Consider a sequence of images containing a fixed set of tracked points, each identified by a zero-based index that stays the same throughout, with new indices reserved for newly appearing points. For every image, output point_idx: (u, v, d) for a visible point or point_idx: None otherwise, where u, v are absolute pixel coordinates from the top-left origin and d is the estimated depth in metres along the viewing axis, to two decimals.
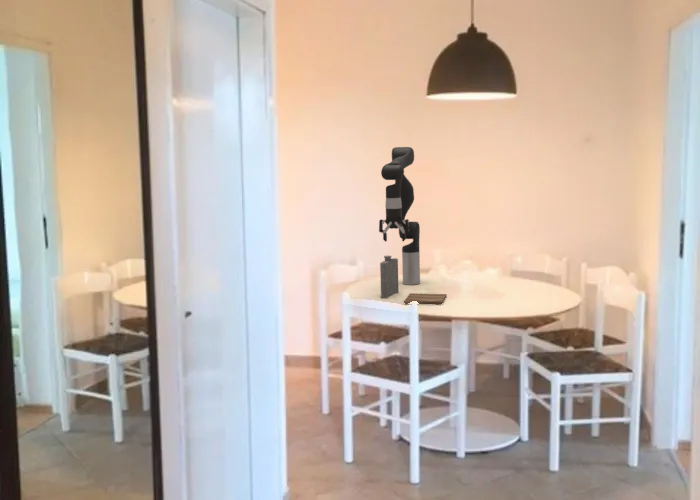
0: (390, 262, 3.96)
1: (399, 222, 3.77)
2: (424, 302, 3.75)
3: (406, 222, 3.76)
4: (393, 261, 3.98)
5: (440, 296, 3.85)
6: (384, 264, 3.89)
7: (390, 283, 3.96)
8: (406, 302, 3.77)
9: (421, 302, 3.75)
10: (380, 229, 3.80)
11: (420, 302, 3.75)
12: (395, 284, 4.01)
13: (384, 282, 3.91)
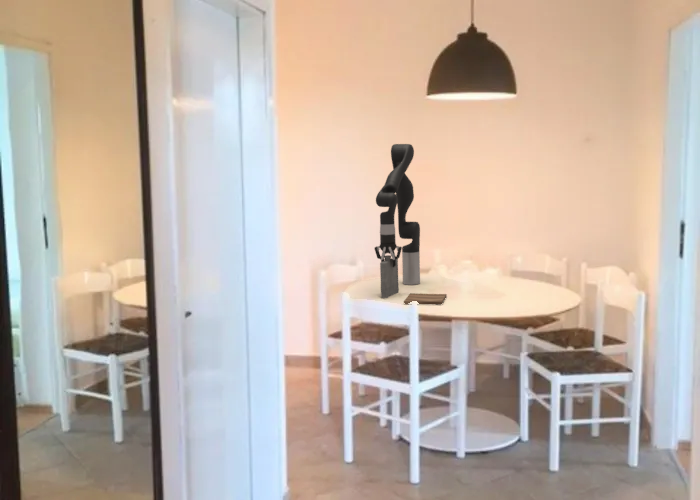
0: (390, 262, 3.96)
1: (393, 248, 3.94)
2: (424, 302, 3.75)
3: (399, 249, 3.93)
4: None
5: (440, 296, 3.85)
6: (384, 264, 3.89)
7: (390, 283, 3.96)
8: (406, 302, 3.77)
9: (421, 302, 3.75)
10: (378, 255, 3.96)
11: (420, 302, 3.75)
12: (395, 284, 4.01)
13: (384, 281, 3.91)
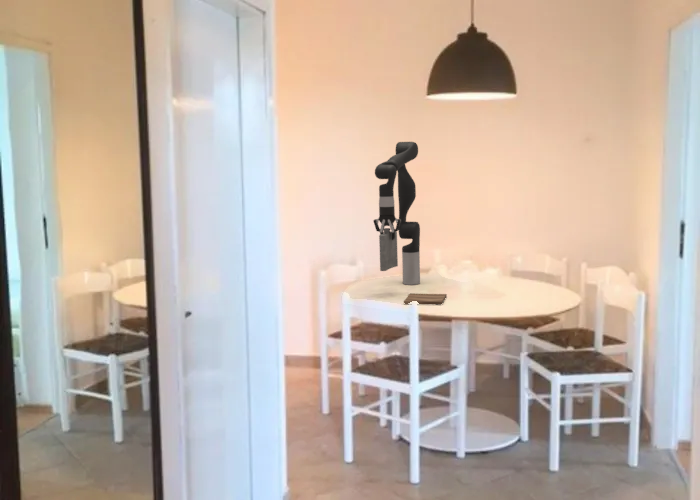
0: (389, 235, 3.94)
1: (392, 221, 3.92)
2: (424, 302, 3.75)
3: (398, 222, 3.91)
4: None
5: (440, 296, 3.85)
6: (383, 236, 3.87)
7: (389, 256, 3.94)
8: (406, 302, 3.77)
9: (421, 302, 3.75)
10: (377, 228, 3.94)
11: (420, 302, 3.75)
12: (394, 257, 3.99)
13: (383, 254, 3.89)
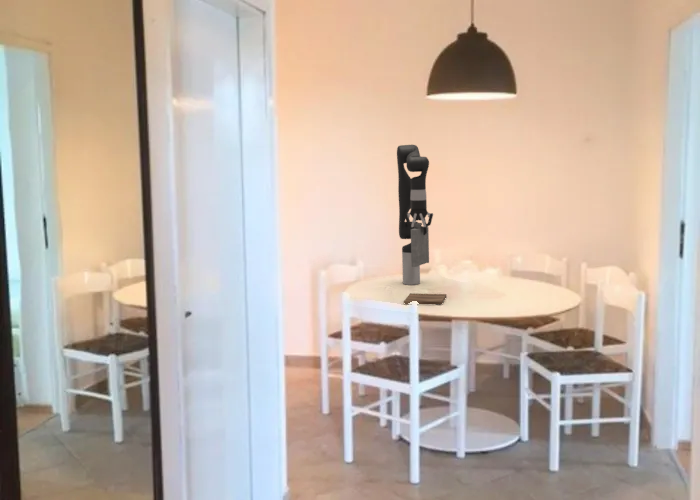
0: (421, 229, 3.79)
1: (424, 215, 3.77)
2: (424, 302, 3.75)
3: (430, 216, 3.77)
4: None
5: (440, 296, 3.85)
6: (415, 231, 3.73)
7: (420, 251, 3.80)
8: (406, 302, 3.77)
9: (421, 302, 3.75)
10: (408, 223, 3.80)
11: (420, 302, 3.75)
12: (425, 253, 3.85)
13: (415, 249, 3.74)
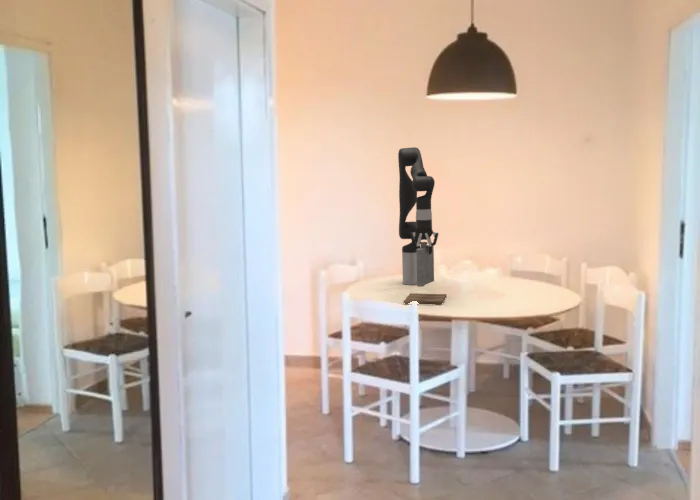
0: (426, 249, 3.79)
1: (429, 234, 3.77)
2: (424, 302, 3.75)
3: (436, 235, 3.77)
4: None
5: (440, 296, 3.85)
6: (421, 251, 3.73)
7: (426, 270, 3.80)
8: (406, 302, 3.77)
9: (421, 302, 3.75)
10: (414, 242, 3.80)
11: (420, 302, 3.75)
12: (431, 272, 3.85)
13: (420, 269, 3.74)
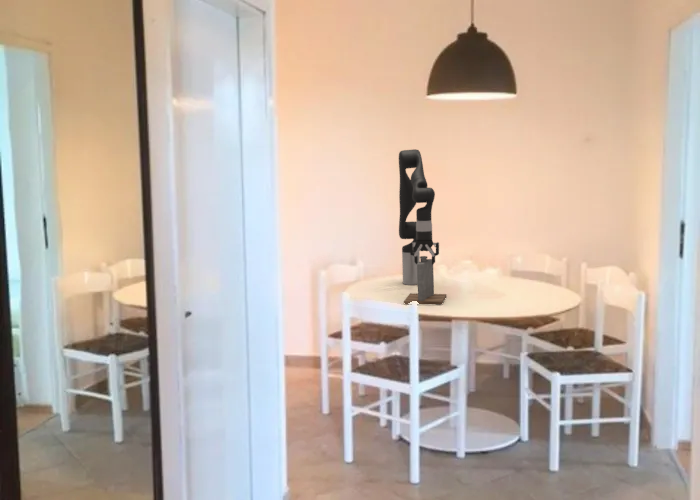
0: (426, 263, 3.80)
1: (430, 245, 3.78)
2: (424, 302, 3.75)
3: (437, 245, 3.77)
4: (429, 262, 3.83)
5: (440, 296, 3.85)
6: (421, 265, 3.74)
7: (426, 284, 3.81)
8: (406, 302, 3.77)
9: (421, 302, 3.75)
10: (411, 252, 3.81)
11: (420, 302, 3.75)
12: (431, 286, 3.86)
13: (421, 283, 3.75)
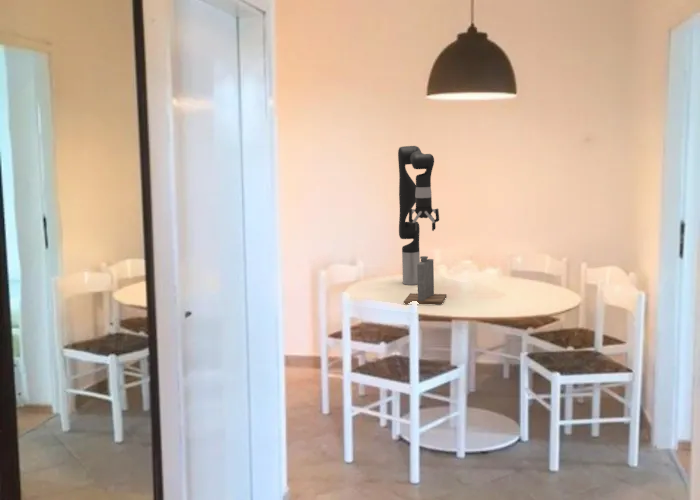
0: (427, 263, 3.80)
1: (429, 211, 3.76)
2: (424, 302, 3.75)
3: (436, 211, 3.75)
4: (429, 262, 3.83)
5: (440, 296, 3.85)
6: (422, 265, 3.74)
7: (426, 285, 3.81)
8: (406, 302, 3.77)
9: (421, 302, 3.75)
10: (410, 218, 3.78)
11: (420, 302, 3.75)
12: (431, 286, 3.86)
13: (421, 283, 3.75)
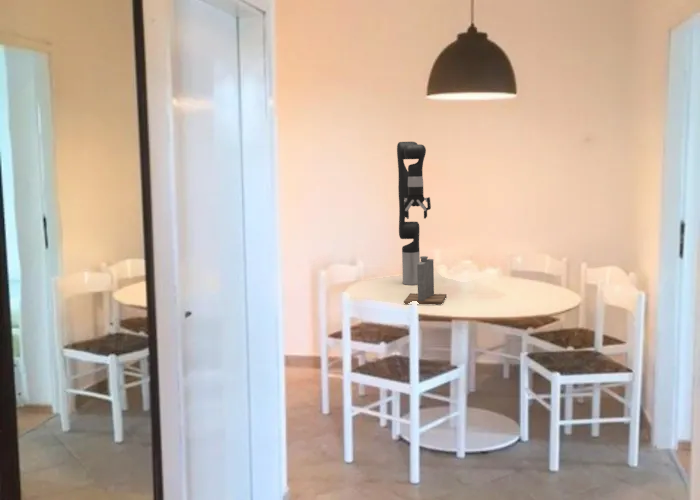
0: (426, 263, 3.80)
1: (421, 200, 3.90)
2: (424, 302, 3.75)
3: (428, 200, 3.89)
4: (429, 262, 3.83)
5: (440, 296, 3.85)
6: (421, 265, 3.74)
7: (426, 285, 3.81)
8: (406, 302, 3.77)
9: (421, 302, 3.75)
10: (402, 207, 3.92)
11: (420, 302, 3.75)
12: (431, 286, 3.86)
13: (421, 283, 3.75)
